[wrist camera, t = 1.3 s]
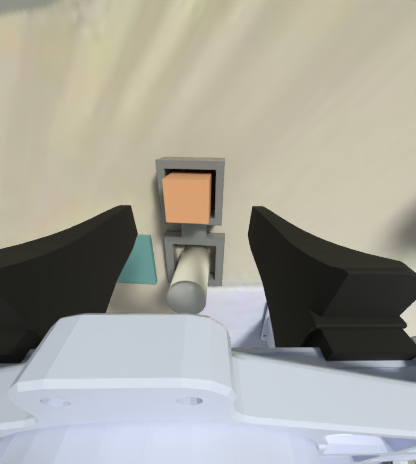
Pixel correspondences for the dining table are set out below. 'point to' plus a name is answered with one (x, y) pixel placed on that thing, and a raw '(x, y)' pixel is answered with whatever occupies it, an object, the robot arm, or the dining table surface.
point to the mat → (140, 263)
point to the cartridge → (190, 281)
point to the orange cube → (187, 197)
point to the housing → (192, 231)
